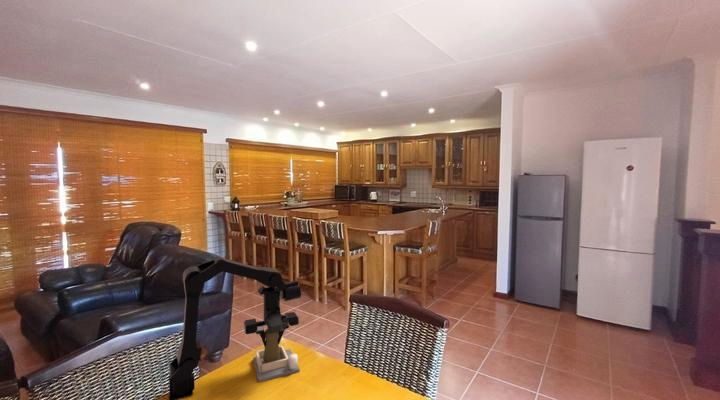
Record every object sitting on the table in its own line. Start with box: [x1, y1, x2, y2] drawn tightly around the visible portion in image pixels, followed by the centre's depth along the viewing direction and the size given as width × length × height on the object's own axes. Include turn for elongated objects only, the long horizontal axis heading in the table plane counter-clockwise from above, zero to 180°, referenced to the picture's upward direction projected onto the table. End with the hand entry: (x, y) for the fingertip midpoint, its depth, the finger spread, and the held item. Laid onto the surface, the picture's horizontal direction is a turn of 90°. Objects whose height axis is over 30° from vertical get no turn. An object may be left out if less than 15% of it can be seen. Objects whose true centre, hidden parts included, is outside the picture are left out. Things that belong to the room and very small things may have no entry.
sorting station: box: [252, 345, 301, 383], centre depth 117 cm, size 14×14×5 cm
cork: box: [263, 328, 280, 363], centre depth 117 cm, size 6×6×11 cm
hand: (271, 344), depth 117 cm, fingers closed on cork, 4 cm apart
